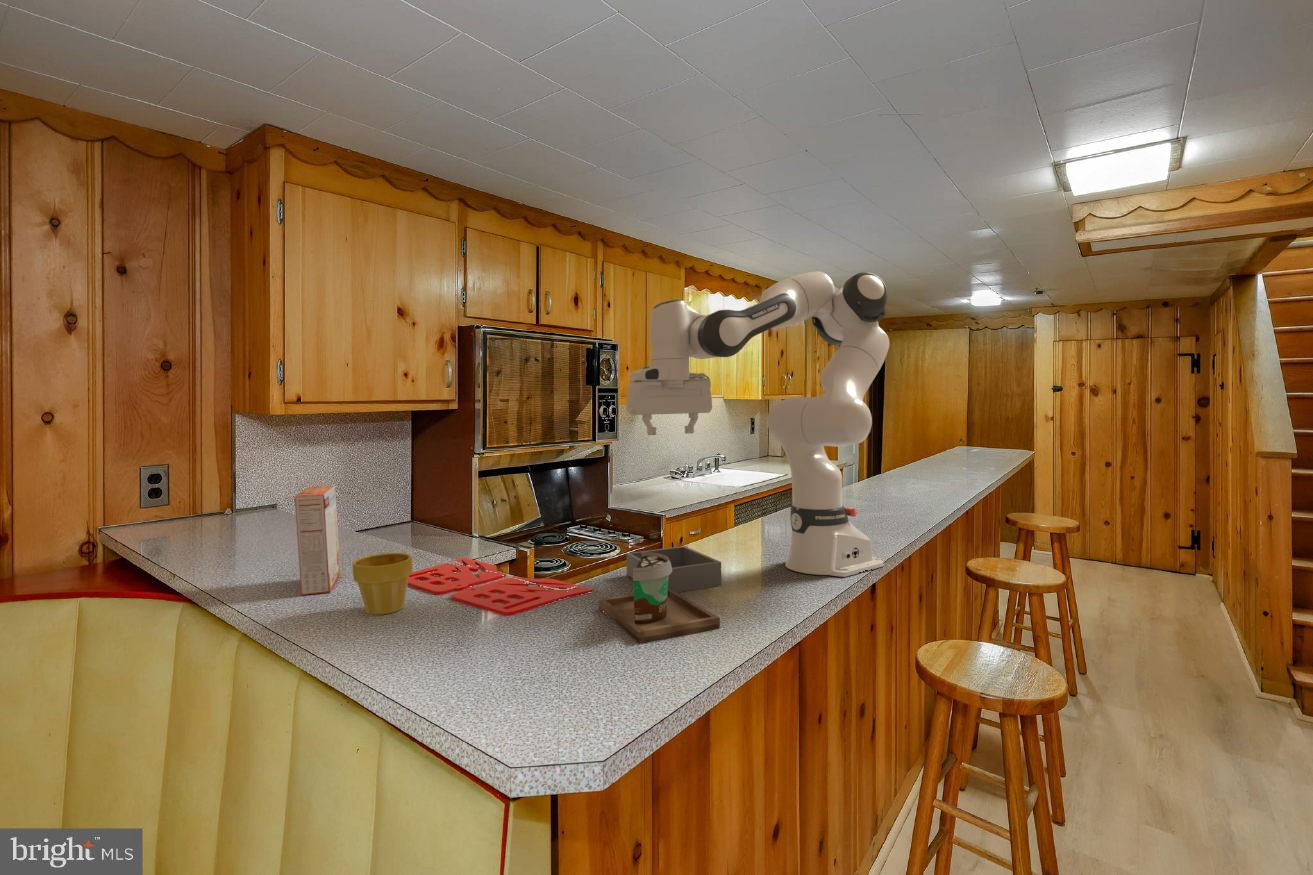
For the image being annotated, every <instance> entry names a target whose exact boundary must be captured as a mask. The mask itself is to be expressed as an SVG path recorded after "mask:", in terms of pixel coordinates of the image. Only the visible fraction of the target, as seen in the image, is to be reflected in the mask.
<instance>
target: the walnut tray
mask: <svg viewBox="0 0 1313 875" xmlns="http://www.w3.org/2000/svg"><path fill="white" fill-rule="evenodd" d="M599 608H600V609H601V610H602V611H604V613H606V614H605V615H606V616H607V615H608V616H609V617H610V618H611V619H612V620H614V621H613V623H615V622H616V623H615V625H617V624H618V625H619V626H620V627H619V626H618V625H617V626H618V627H619V628H620V629H622V630H623V629H624V630H623V631H624V632H625V631H626V632H627V633H628V634H627V633H626V632H625V633H626V634H627V635H629V636H630V637H631V638H632V639H633V640H634V641H635V642H637V643H638V644H642V643H647V642H653V641H658V640H664V639H668V638H675V637H679V636H685V635H689V634H694V633H700V632H706V631H712V630H717V629H720V628H721V624H720V623H721V622H720V620H721V619H720V616H717V615H716V614H715V613H713V612H712V611H709V610H708V609H706V608H705V607H702V606H701V605H699V604H698V603H696V602H694V601H693V600H691V599H689V598H687V597H686V596H685V595H682V594H681V593H680V592H676V591H674V590H673V589H671V588H670V589H668V594H667V612H666V617H665V618H664V619H662V620H660V621H658V622H654V623H649V624H635V615H634V593H632V594H627V595H619V596H612V597H607V598H599V599H598V609H599ZM600 609H599V610H600ZM601 610H600V611H601ZM602 611H601V612H602ZM604 613H603V614H604ZM608 616H607V617H608ZM609 617H608V618H609ZM610 618H609V619H610ZM611 619H610V620H611ZM612 620H611V621H612Z"/></svg>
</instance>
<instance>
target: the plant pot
mask: <svg viewBox="0 0 1313 875" xmlns="http://www.w3.org/2000/svg"><path fill="white" fill-rule="evenodd" d="M412 572H413V560H412V555H411V554H409V553H405V552H385V553H377V554H371V555H367V556H362V557H360V558H357V559H356V560H354V561H353V562H352V574H353V581H354V582H355V583H357V584H358V587H359V591H360V595H361V598H362V601H363V605H364V609H365V612H366V613H367V615H372V616H380V615H382V616H383V615H388V614H393V613H397V612H399V611H401V610H402V609H403V608H404V607H405V602H406V598H407V597H406V596H407V591H408V590H407V589H408V578H409V576H410V575H411V574H412Z"/></svg>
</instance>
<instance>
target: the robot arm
mask: <svg viewBox="0 0 1313 875" xmlns="http://www.w3.org/2000/svg"><path fill="white" fill-rule="evenodd" d="M887 300H888V289H887V286H886V284H885V282H884V281H883V279H882V278H881V277H880V276H878V275H877V274H875V273H872V272H870V271H862V272H857V273H856V274H854V275H853V276H850V277H849V278H848V279H847V280H846V281H845V282H844V284H843V285H842V286H841V287H840V288H839V287H836V286H835V284H834V282H833V280H832V278H831V277H830V276H829V275H828V274H827V273H825V272H823V271H819V270H817V271H810V272H809V271H808V272H804V273H803V272H802V273H799V274H796V275H793V276H790V277H787V278H784V279H782V280H780V281H778V282H776V283H774V284H772V285H770V286H769V287H768V288H766V289H765V290H763V292H762V293H761V295H760V300H759V303H756V304H754V305H751V306H748V307H746V308H744V309H741V310H733V309H719V310H717V311H714V312H712V313H710V314H706V315H705V314H703V313H701V312H699V311H697V310H695V309H694V308H692V307H691V306H690V305H688V304H687V303H686V301H685V300H683V299H673V300H667V301H662V302H661V303H658V304H656V305H655V306H653V308H652V310H651V314H650V320H649V321H650V322H649V343H650V346H651V353H650V357H649V366H645V367H642V368H640V369H636V370H633V371H631V372H630V374H629V380H630V381H631V383H629V385H628V388H627V391H626V392H627V393H626V412H628V414H629V415H632V416H641V418H642V422H643V423H644V425H645V426H646V434H647V436H656V435H657V427H656V426H653V424H652V423H651V420H652V419H653V418H652V415H678V414H679V415H682V414H684V415H686V414H688V419H689V422H688V424H687V425H684V434H690V435H691V434H694V433H695V425H696V423H697V421H698V420H699V414H710V413H711V411H712V410H713V399H712V392H711V387H712V384H711V378H710V377H709V376H708V375H706V374H705V373H703V372H702V373H701V372H699V373H696V372H691V373H690V358H694V359H697V360H705V359H713V358H715V359H716V358H730V357H733V356H735V355H736V354H738V353H739V352H740V351H741V350H742V349H743V348H745V346H746V344H747V343H748V342H749V341H750V340H751V339H752V338H754V337H756V336H758V335H760V334H762V333H765V332H766V331H768V330H770V329H773V328H774V329H782V328H787V327H791V326H795V325H797V324H800V323H801V322H802V323H803V322H805V321H806V320H809V319H811V323H812V326H813V327H815V329H816V332H817V333H818V334H819V336H820V338H822V339H823V341H825V342H827V343H828V344H830V345H832V346H838V347H837V349H836V351H835V352H834V353H833V354H832V356H831V358H830V359H829V360H828V361H827V363H826V365H825V367H824V368H823V369H822V371H821V373H820V384H821V385H820V386H821V387H822V389H823V391H824V393H822V394H820V395H818V396H799V397H798V396H796V397H790V398H785V399H783V400H779V401H777V402H775V403H774V404H773V405H772V406H771V407H770V410H769V411H768V414H767V428H768V430H769V432H770V434H771V435H772V437H773V438H774V439H775V440H776V441H777V442H778V443H779V444H780V446H781V447H782V449H783V451H784V454H785V455H786V456H785V457H787V461H788V464H789V469H790V475H791V488H792V490H791V492H792V495H791V496H792V497H791V498H792V499H791V500H792V504H791V505H790V514H789V515H790V526H791V533H790V534H791V536H790V544H789V548H788V553H787V554H788V555H787V558H786V562H785V567H786V568H787V569H789V570H791V571H794V572H798V573H801V574H802V573H803V574H809V575H817V576H834V577H839V578H840V577H841V578H845V577H849V576H853V575H857V574H860V573H859V572H861V573H864V572H866V571H865V570H868V571H871V569H872V570H875V569H878V568H882V567H885V565H884V561H883V560H882V559H880V558H878V557H876V556H874V554H873V553H874V552H873V547H872V542H871V539H870V538H869V537H868V535H866V534H864V533H863V532H862V531H860V530H859V529H858V528H857V527H855V525H853V524H852V523H851V522H850V520H849V518H848V516H849V517H852V518H854V517H857V515H858V513H859V512H858V510H857V508H855V507H851V506H848V507H845V506H844V505H843V474H842V472H841V470H840V468H839V467H838V466H837V465H836V464H834V463H833V462H831V460H830V458H828V455H827V453H826V450H825V447H840V448H841V447H847V446H854V445H857V444H858V445H859V444H861V443H863V442H864V441H865V440H866V439H867V438H868V436H869V434H870V433H871V431H872V430H871V429H872V425H873V419H872V413H871V410H870V408H869V407H868V405H867V404H866V403H865V402H864V397H865V395H866V393H867V391H868V390H869V388H870V387H871V385H872V383H873V381H874V379H875V378H876V376H877V375H878V373H879V371H880V370H881V368H882V366H883V364H884V363H885V360H886V358H887V356H888V352H889V349H890V338H889V336H888V334H887V333H886V332H885V331H884V330H883V328H881V327H880V325H879V322H880V321H881V320H883V319H884V318H885V316H886V313H887V312H886V306H887ZM863 571H864V572H863Z"/></svg>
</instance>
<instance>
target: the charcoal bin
mask: <svg viewBox="0 0 1313 875" xmlns="http://www.w3.org/2000/svg"><path fill="white" fill-rule="evenodd" d="M642 552H651V553H658V554H662V555H665V556H667V557H668V558H669V561H670V562H671V566H672V573H671V574H669V576H668V589H670V588H671V589H673V590H674V591H676V592H678V593H683V592H689V591H695V590H697V591H698V590H703V589H708V588H715V587H721V586H722V561H720V560H717V559H715V558H713V557H711V556H708V555H706V554H704V553H702V552H699V551H697V550H695V549H693V548H690V547H688V546H685V545H682V546H674V547H666V548H658V549H652V550H651V549H650V550H642V551H641V550H640V551H634V552H627V553H626V555H625V557H626V558H625V559H626V561H625V562H626V576H627V577H628V576H630V577H631V578H630V577H629V578H630V579H632V578H633V568H637V565H638V562H639V561H641V559H642Z"/></svg>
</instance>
